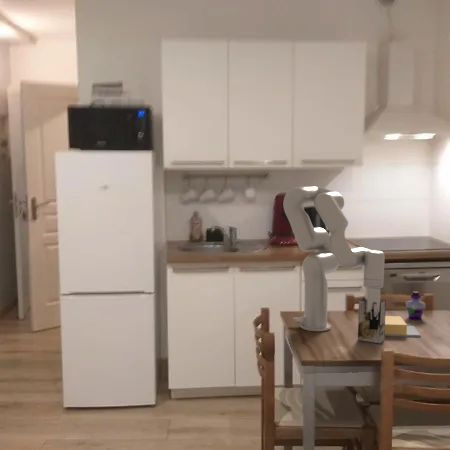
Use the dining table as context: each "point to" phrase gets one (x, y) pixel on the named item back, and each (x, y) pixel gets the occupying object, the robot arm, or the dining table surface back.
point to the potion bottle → (415, 306)
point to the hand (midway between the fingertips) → (371, 325)
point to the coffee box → (363, 323)
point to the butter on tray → (399, 327)
